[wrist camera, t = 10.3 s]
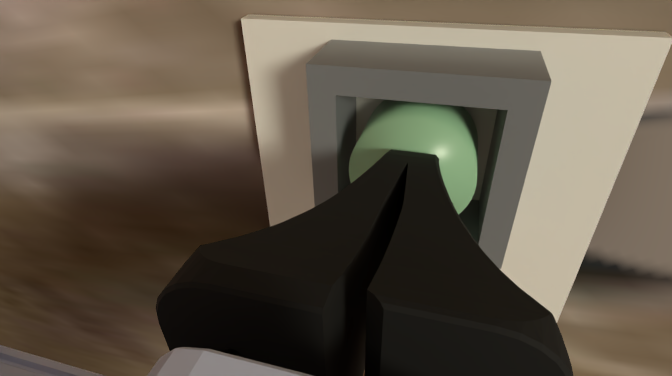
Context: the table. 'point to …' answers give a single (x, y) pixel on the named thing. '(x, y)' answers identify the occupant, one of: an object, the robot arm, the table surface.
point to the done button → (423, 142)
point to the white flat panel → (477, 125)
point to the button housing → (435, 88)
